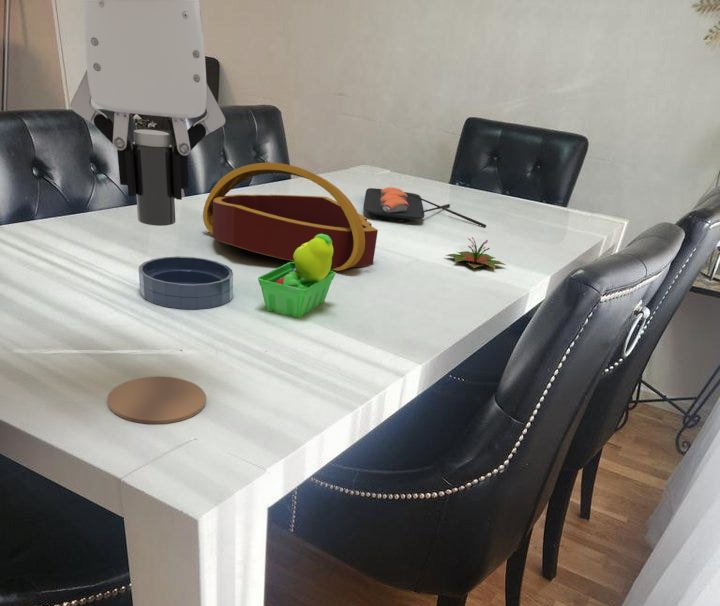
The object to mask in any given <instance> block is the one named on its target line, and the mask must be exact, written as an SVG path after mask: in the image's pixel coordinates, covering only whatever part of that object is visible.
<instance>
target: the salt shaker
mask: <svg viewBox="0 0 720 606" xmlns="http://www.w3.org/2000/svg"><path fill="white" fill-rule="evenodd" d="M170 136H171V135H170V133H168V132H166V131H162V130H156V129H135V130H133V138H134V139H133V140H134V141H133V142H131V145H132V148H133V155H134V168H135V181H136V195H135V197H136V210H137V221H138V222H139V223H142V224H144V225H147V226H157V227H165V226H171V225H174V224H175V223H176V203H175V201H176V200H175V198H174V186H173V164H172V152H173V145H171V140H170V138H171V137H170Z"/></svg>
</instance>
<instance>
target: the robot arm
mask: <svg viewBox="0 0 720 606" xmlns="http://www.w3.org/2000/svg"><path fill="white" fill-rule="evenodd" d="M83 3H84V5H83V6H84V43H85V60H86V70H85V72H84V75H83V76H82V79H81V80H80V83H79V84H78V87H77V89H76V92H74V95H73V97H72V99H71V101H70V104H69V105H70V108H71V110H72V111H73V112H74V113H75V114H77V115H78V116H80V117H81V118H82V119H84V120H86V121H87V122H89V123H90V124H92V125H93V126H95V127H96V129H98V130H99V131H100V132H101V133H102V135H104V137H105V138H106V139H107V140H108V141H109V142H110V143H111V144H112V145H113V147H114V148H115V149H116V153H117V154H116V155H117V163H118V164H117V165H118V174H119V175H118V176H119V185H121V186H127V195H128V197H133V198H134V197H135V196H136V181H135V168H134V155H133V147H132V142H131V140H130V139H129V124H130V114H133V115H143V116H153V117H154V116H155V117H166V118H171V121H172V126H173V132H174V138H175V142H174V143H173V151H172V164H173V186H174V199H176V200H177V201H178V200H180V201H181V200H183V199H182V196H183V195H182V194H183V193H182V190H189V165H188V163H189V162H188V161H189V159H188V155H189V154H190V153H191V151H192V150H193V149H194V148H195V147H196V146H197V145H198V144H199V143H200V142H201V141H202V140H203V139H204V138H205V137H206V136H208V135H209V134H211V133H213V132H215V131H217V130H218V129H220V128H221V127H223V126H225V124H226V117H225V115H224V113H223V112H222V110H221V107H220V106H219V104H218V102H217V100H216V97H215V96H214V94H213V91H212V90H211V88H210V87H209V85H208V82H207V67H206V52H205V42H204V41H205V40H204V30H203V22H202V11H201V5H200V0H83ZM92 102H93V103H94V104H95V105H96V106H97V107H99V108H102V109H104V110H106V111H109V112H114V115H113V120H112V119H111V118H109V116H108V115H107V114H105V113H104V112H102V111H101V110H99V109H98V108H97V107H95V106H94V105H93V103H92ZM205 112H206V115H205V116H204V117H202V118H201V119H200V120H198V121H195V122H194V123H193V124H191V126H190V127H189V128H188V126H187V120H186V119H194V118H195V119H196V118H198V117H201V116H202V115H204V114H205Z"/></svg>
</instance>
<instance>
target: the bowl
mask: <svg viewBox="0 0 720 606" xmlns="http://www.w3.org/2000/svg"><path fill="white" fill-rule="evenodd" d="M138 281H139V293H140V295H141V296H142V298H143V299H144V300H145V301H148V302H150V303H152V304H154V305H157V306H161V307H165V308H171V309H178V310H203V309H206V310H207V309H211V308H212V309H213V308H215V307H216V308H217V307H221V306H224V305H226V304H227V303H229V302H230V301H231V300H232V299H233V297H234V272H233V270H232V269H231V268H230V267H229V266H228V265H226V264H224V263H222V262H219V261H217V260H212V259H208V258H203V257H197V256H196V257H194V256H179V255H178V256H176V255H175V256H163V257H156V258H151V259H149V260H146V261H144V262H142V263H141V264H140V265H139V266H138Z"/></svg>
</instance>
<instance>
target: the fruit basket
mask: <svg viewBox="0 0 720 606" xmlns="http://www.w3.org/2000/svg"><path fill="white" fill-rule="evenodd" d="M332 256H333V246H332V240H331V238H330V237H329V236H328V235H324V234H318V235H316V236H315V237H314V239H312V240H310V241H309V242H307V243H304V244H302V245H301V246H300V247H298V248H297V249H296V250H295V252H294V255H293V258H294V261H290V262H287V263H284V264H283V265H281V266H279V267H277V268H275V269H272V270H271V271H269V272H267V273H265V274H262V275H260V276H258V277H257V281H258V284H259V286H260V289H261V292H262V297H263V301H264V306H265V309H266V311H268V312H274V313H277V314H280V315H284V316H289V317H293V318H296V319H300V318H302V317H303V316H304V315H305V314H308V313H309V312H311V311H312V310H313V309H315V308H317V307H318V306H319V305H321V304H323V303H325V301H326V298H327V295H328V292H329V290H330V287H331V284H332V281H333V280H334V278H335V276H336V272H337V271H335V270H330V268H331V264H332Z"/></svg>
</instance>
